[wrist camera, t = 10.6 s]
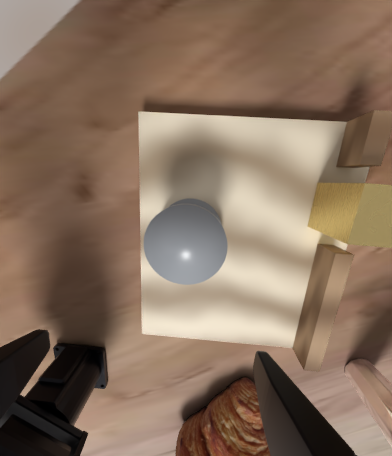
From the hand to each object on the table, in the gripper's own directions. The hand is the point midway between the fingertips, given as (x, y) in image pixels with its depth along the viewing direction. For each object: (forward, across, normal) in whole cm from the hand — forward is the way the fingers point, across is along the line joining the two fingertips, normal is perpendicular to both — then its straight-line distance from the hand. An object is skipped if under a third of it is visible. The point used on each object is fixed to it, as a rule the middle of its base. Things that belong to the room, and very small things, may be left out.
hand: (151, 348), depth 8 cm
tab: (+11, -14, -6) cm, 18 cm away
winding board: (+12, -6, -1) cm, 14 cm away
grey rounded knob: (+11, -1, -3) cm, 11 cm away
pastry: (+13, -8, +27) cm, 31 cm away
